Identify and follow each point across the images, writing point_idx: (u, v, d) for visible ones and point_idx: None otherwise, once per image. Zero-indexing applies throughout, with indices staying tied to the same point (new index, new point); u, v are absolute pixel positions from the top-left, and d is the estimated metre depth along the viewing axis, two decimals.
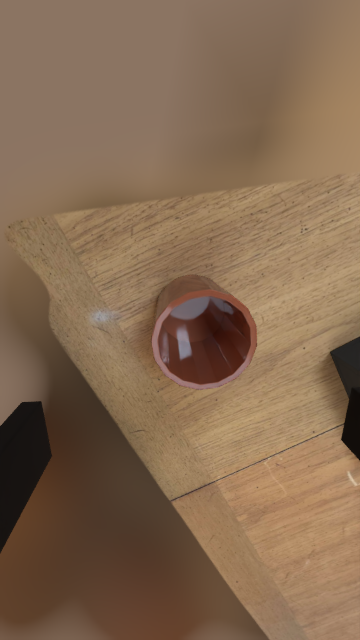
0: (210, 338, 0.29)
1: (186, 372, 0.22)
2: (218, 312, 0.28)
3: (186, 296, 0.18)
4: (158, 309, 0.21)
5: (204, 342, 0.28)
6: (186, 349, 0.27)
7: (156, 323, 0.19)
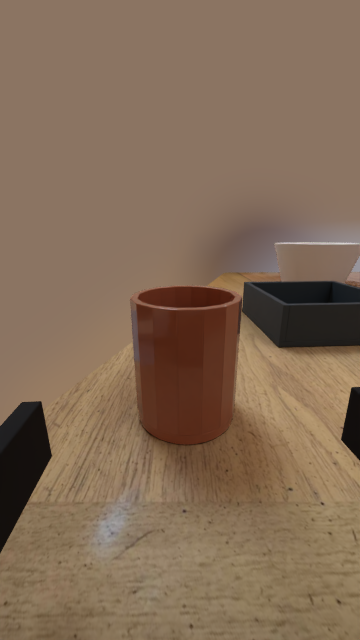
0: None
1: None
2: None
3: (134, 294, 0.19)
4: (137, 339, 0.18)
5: None
6: None
7: (139, 303, 0.17)
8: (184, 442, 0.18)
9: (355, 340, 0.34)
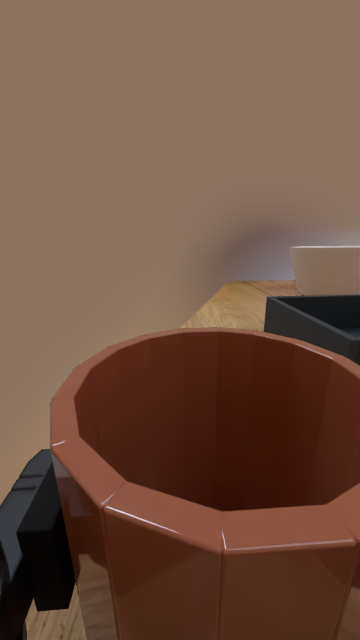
0: None
1: None
2: None
3: (77, 371, 0.07)
4: (70, 546, 0.05)
5: None
6: None
7: (61, 453, 0.04)
8: None
9: None
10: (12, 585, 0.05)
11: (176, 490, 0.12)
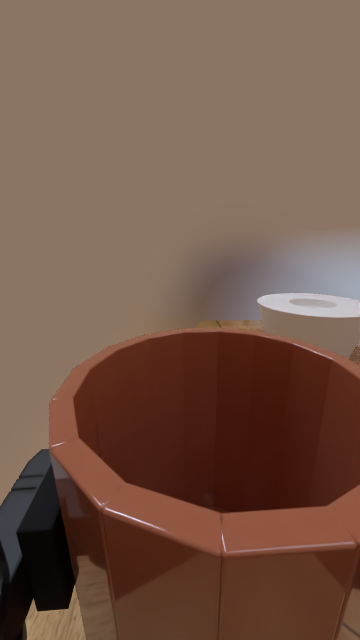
0: None
1: None
2: None
3: (76, 372, 0.07)
4: (69, 548, 0.05)
5: None
6: None
7: (60, 454, 0.04)
8: None
9: None
10: (12, 585, 0.05)
11: (175, 490, 0.12)
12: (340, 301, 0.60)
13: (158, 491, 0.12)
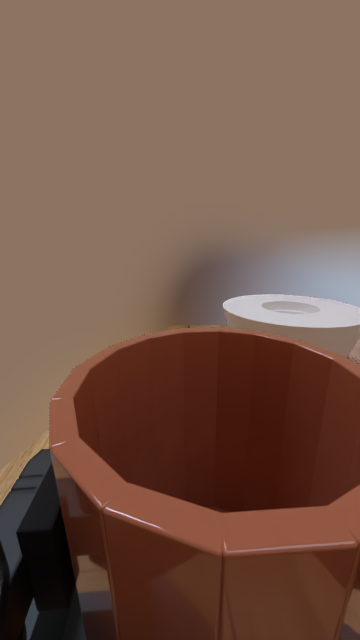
0: None
1: None
2: None
3: (76, 371, 0.07)
4: (69, 547, 0.05)
5: None
6: None
7: (60, 453, 0.04)
8: None
9: None
10: (12, 585, 0.05)
11: (176, 490, 0.12)
12: (326, 305, 0.48)
13: (158, 491, 0.12)
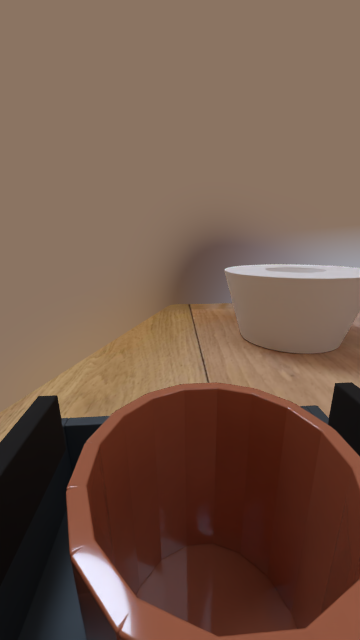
0: (297, 615, 0.10)
1: None
2: (233, 566, 0.12)
3: (87, 448, 0.08)
4: None
5: None
6: None
7: (79, 562, 0.05)
8: None
9: None
10: None
11: (177, 530, 0.13)
12: (332, 268, 0.46)
13: (161, 533, 0.12)
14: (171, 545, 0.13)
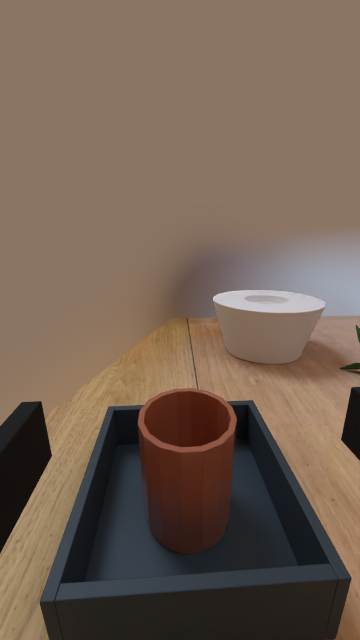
0: None
1: None
2: None
3: (141, 412, 0.22)
4: (144, 462, 0.20)
5: None
6: None
7: (146, 437, 0.19)
8: (187, 552, 0.20)
9: None
10: None
11: None
12: (295, 297, 0.59)
13: None
14: None
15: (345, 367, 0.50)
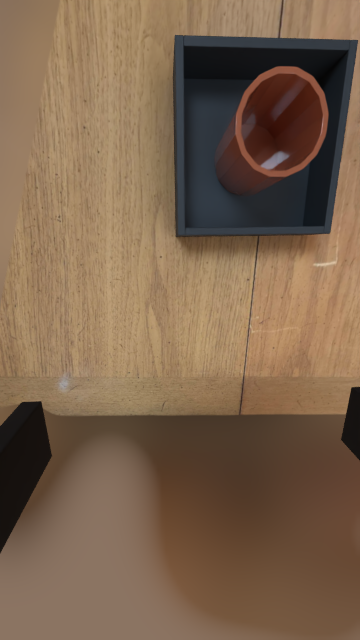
0: (279, 153, 0.30)
1: (295, 165, 0.24)
2: (262, 134, 0.30)
3: (238, 116, 0.22)
4: (233, 161, 0.25)
5: (279, 161, 0.30)
6: None
7: (244, 156, 0.22)
8: None
9: (254, 235, 0.34)
10: None
11: (244, 120, 0.28)
12: None
13: None
14: None
15: None
